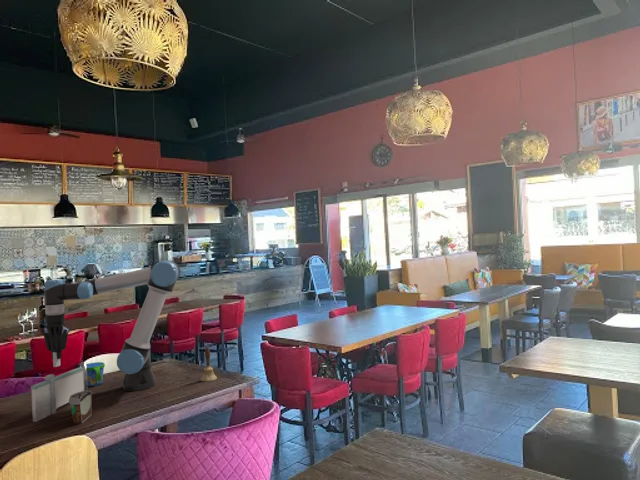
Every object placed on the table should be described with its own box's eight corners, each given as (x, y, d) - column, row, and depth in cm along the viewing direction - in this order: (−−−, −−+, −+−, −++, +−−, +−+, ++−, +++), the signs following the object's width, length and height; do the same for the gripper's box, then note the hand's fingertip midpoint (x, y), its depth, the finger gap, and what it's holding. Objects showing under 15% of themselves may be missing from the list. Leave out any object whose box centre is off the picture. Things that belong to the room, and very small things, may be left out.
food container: (77, 415, 196) (76, 390, 196) (92, 413, 196) (91, 389, 196) (63, 426, 183) (62, 400, 183) (80, 424, 184) (79, 399, 184)
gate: (84, 394, 219) (83, 367, 219) (56, 408, 201) (54, 378, 201) (80, 394, 219) (79, 367, 219) (52, 408, 201) (50, 378, 201)
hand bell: (220, 377, 241) (218, 346, 241) (208, 382, 234) (206, 350, 234) (208, 376, 245) (207, 345, 245) (196, 380, 238) (195, 348, 238)
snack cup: (108, 385, 237) (107, 365, 238) (85, 390, 231) (84, 369, 231) (102, 379, 250) (101, 360, 250) (80, 383, 244) (79, 364, 244)
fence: (89, 396, 221) (87, 361, 222) (37, 421, 190) (35, 381, 190) (84, 396, 222) (82, 361, 222) (31, 421, 190) (30, 381, 191)
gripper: (36, 315, 212) (38, 368, 211) (61, 314, 209) (63, 368, 209) (48, 312, 219) (50, 364, 219) (73, 312, 217) (75, 364, 216)
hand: (56, 366), depth 214 cm, fingers closed
